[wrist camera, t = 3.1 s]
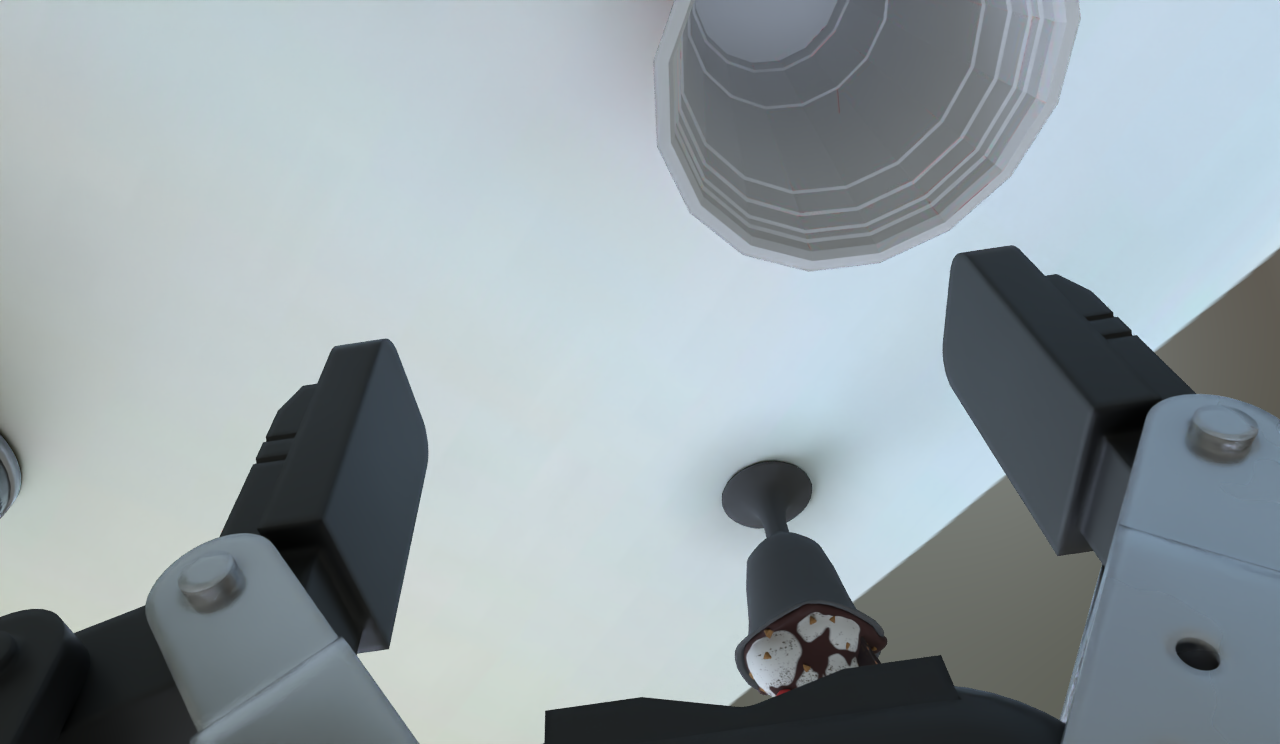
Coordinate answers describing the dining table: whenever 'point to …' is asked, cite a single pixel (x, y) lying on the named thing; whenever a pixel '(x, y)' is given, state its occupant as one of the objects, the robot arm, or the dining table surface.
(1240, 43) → the dining table surface
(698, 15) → the plastic cup
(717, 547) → the dining table surface
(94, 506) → the dining table surface
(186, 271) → the dining table surface
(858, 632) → the sundae
